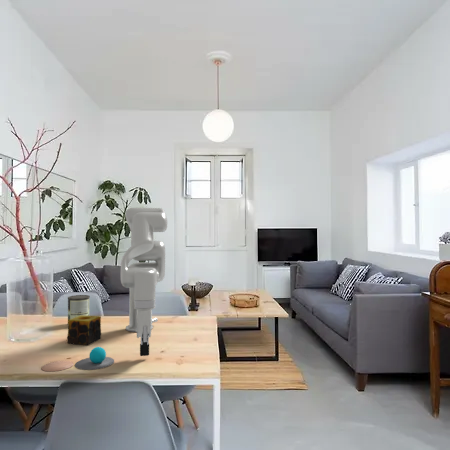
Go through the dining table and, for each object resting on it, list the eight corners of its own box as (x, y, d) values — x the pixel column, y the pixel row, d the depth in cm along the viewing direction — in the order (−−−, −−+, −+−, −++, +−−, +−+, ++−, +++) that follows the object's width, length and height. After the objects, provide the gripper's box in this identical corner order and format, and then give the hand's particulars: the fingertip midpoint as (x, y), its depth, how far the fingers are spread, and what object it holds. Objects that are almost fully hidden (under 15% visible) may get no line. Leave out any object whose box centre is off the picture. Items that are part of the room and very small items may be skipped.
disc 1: (65, 359, 134) (65, 358, 134) (79, 365, 127) (79, 364, 127) (36, 366, 126) (36, 366, 126) (49, 373, 120) (49, 373, 120)
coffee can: (62, 325, 184) (63, 297, 185) (80, 321, 193) (80, 294, 194) (76, 328, 179) (76, 298, 180) (93, 323, 188) (94, 295, 188)
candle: (88, 345, 151) (88, 321, 151) (66, 344, 153) (66, 320, 153) (101, 339, 161) (101, 315, 161) (80, 337, 163) (80, 314, 163)
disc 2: (101, 354, 139) (101, 354, 139) (121, 362, 131) (121, 361, 131) (67, 363, 129) (67, 363, 129) (86, 372, 121) (87, 372, 121)
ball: (105, 354, 134) (95, 343, 133) (111, 355, 130) (102, 343, 129) (93, 366, 131) (83, 355, 130) (99, 367, 127) (89, 355, 126)
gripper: (134, 301, 141) (133, 349, 140) (134, 308, 126) (133, 362, 126) (154, 300, 143) (153, 348, 142) (156, 307, 128) (156, 361, 128)
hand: (144, 355), depth 134 cm, fingers closed
